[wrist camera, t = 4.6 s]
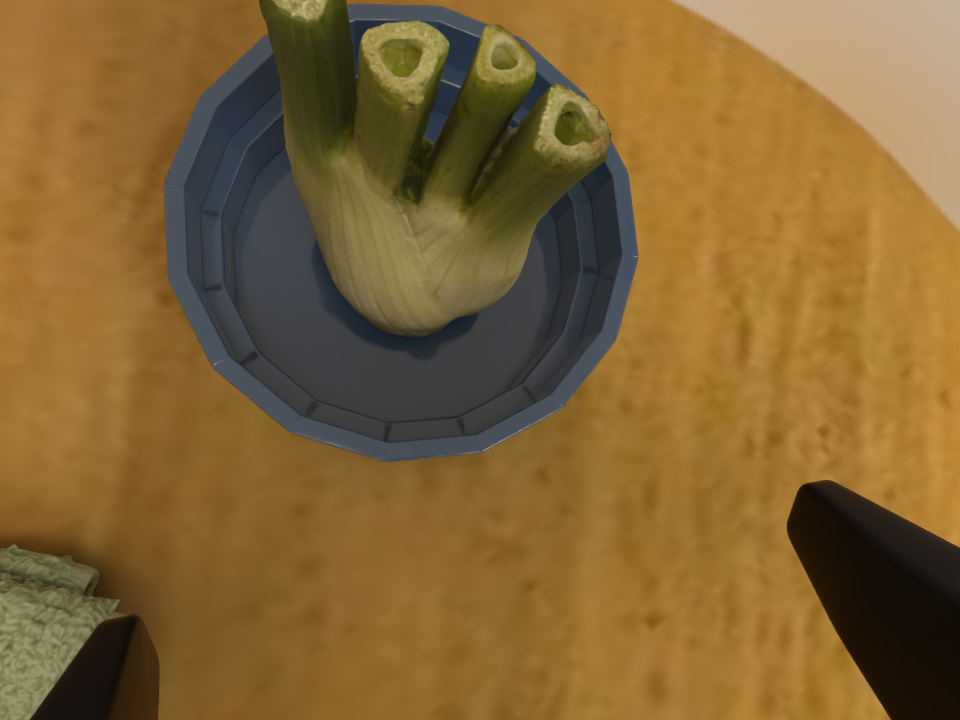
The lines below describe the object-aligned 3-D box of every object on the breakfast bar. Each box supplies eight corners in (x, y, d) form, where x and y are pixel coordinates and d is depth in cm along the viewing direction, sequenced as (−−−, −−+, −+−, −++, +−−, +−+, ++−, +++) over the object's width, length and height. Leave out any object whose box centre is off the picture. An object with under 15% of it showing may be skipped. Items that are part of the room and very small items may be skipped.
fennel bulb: (281, 230, 21) (195, -39, 10) (409, 144, 22) (472, -192, 11) (398, 381, 21) (453, 295, 10) (520, 287, 23) (703, 109, 11)
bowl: (658, 250, 24) (717, 211, 20) (426, 540, 21) (443, 560, 17) (382, 7, 23) (388, -83, 19) (108, 275, 21) (51, 234, 17)
